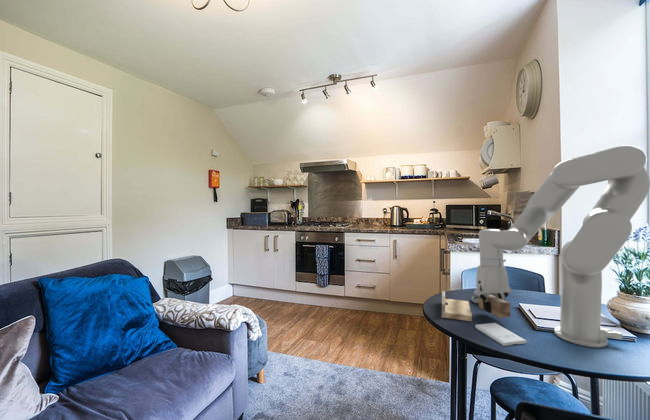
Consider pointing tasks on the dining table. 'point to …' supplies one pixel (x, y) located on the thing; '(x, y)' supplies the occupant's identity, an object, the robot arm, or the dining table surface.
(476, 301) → the ceramic mug
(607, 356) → the dining table surface
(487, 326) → the external hard drive
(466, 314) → the oak ledge
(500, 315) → the brown rectangular block
